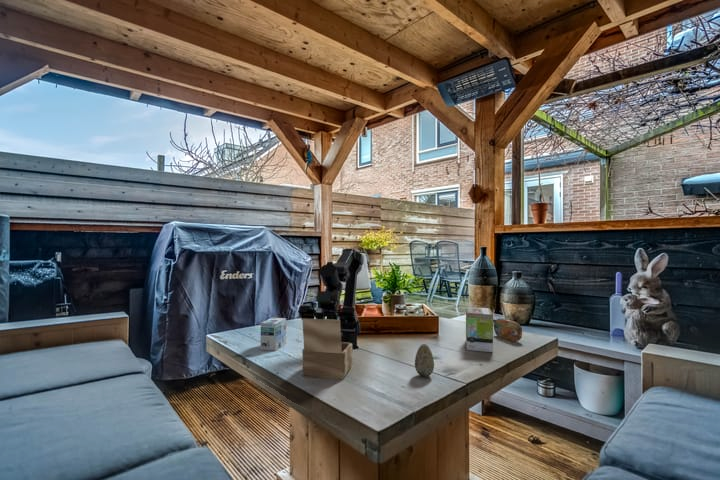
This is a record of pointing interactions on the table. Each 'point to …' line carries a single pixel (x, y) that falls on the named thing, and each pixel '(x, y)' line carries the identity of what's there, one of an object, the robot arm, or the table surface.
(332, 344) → the carton flap
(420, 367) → the decorative egg
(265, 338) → the light bulb box
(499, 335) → the tin
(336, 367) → the carton
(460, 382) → the table surface
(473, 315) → the tea box
